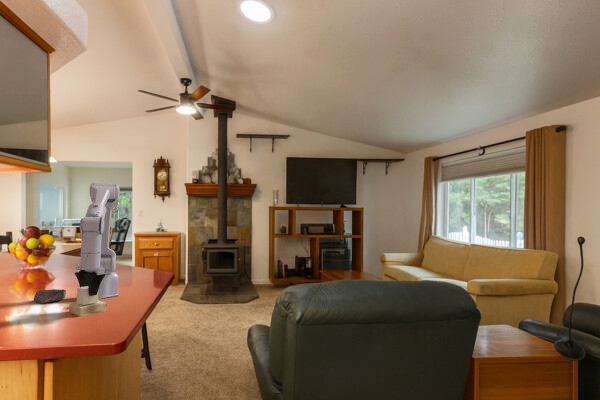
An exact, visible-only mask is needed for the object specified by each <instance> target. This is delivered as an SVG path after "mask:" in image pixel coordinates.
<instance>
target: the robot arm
mask: <svg viewBox="0 0 600 400" xmlns="http://www.w3.org/2000/svg"><path fill="white" fill-rule="evenodd" d="M120 188H121V187H120V185H119V183H107V182H105V183H103V182H91V183H90V186H89V197H90V200H91V204H89V205H88V207H87V210H86V213H85V215H84V217H83V218H80V223H79V233H80V240H81V242H80V261H79V262H80V263H77V264H76V268H75V270H76V272H74V275H75V277H76V279H77V282H78V285H79V287H85V286H88V292H89V296H94V295H97V293H98V290H101V299H107V298H112V297H117V296H119V276H118V274H117V272H115V271H116V267H117V254H116V252H115V251H114V250H113V249H111V248H110V237H111V236H110V235H111V223H112V214H113V209H114V207H116V206H118V205H119V202H120V192H121V191H120V190H121V189H120Z"/></svg>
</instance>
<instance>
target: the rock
mask: <svg viewBox="0 0 600 400" xmlns="http://www.w3.org/2000/svg"><path fill="white" fill-rule="evenodd" d="M66 295H67V290H66V289H55V288H54V289H39V290H38V291H36V292H35V294H34V297H33V302H34V303H36V304H48V303H49V304H50V303H53V302H60V301H62V300H64V299H65V298H66Z"/></svg>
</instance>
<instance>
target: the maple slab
mask: <svg viewBox="0 0 600 400" xmlns="http://www.w3.org/2000/svg"><path fill="white" fill-rule="evenodd" d="M107 307H108V303H107V302H105V301H102V300H101V301H99V300H98V302H96V303H91V304H86V305H81V304H78V303H77V302H73V303H69V308H68V309H69V311H68V312H69V313H71V314H74V315H76V316H77V317H78V316H79V317H84V316H89V315H94V314H99V313H103V312H107V309H108V308H107Z"/></svg>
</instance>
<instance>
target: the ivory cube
mask: <svg viewBox="0 0 600 400" xmlns="http://www.w3.org/2000/svg"><path fill="white" fill-rule="evenodd" d="M96 302H98V293H97V295H94V296H89V292H88V286H85V287H80V286H79V287H76V303H78V304H81V305H86V304H91V303H96Z"/></svg>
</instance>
